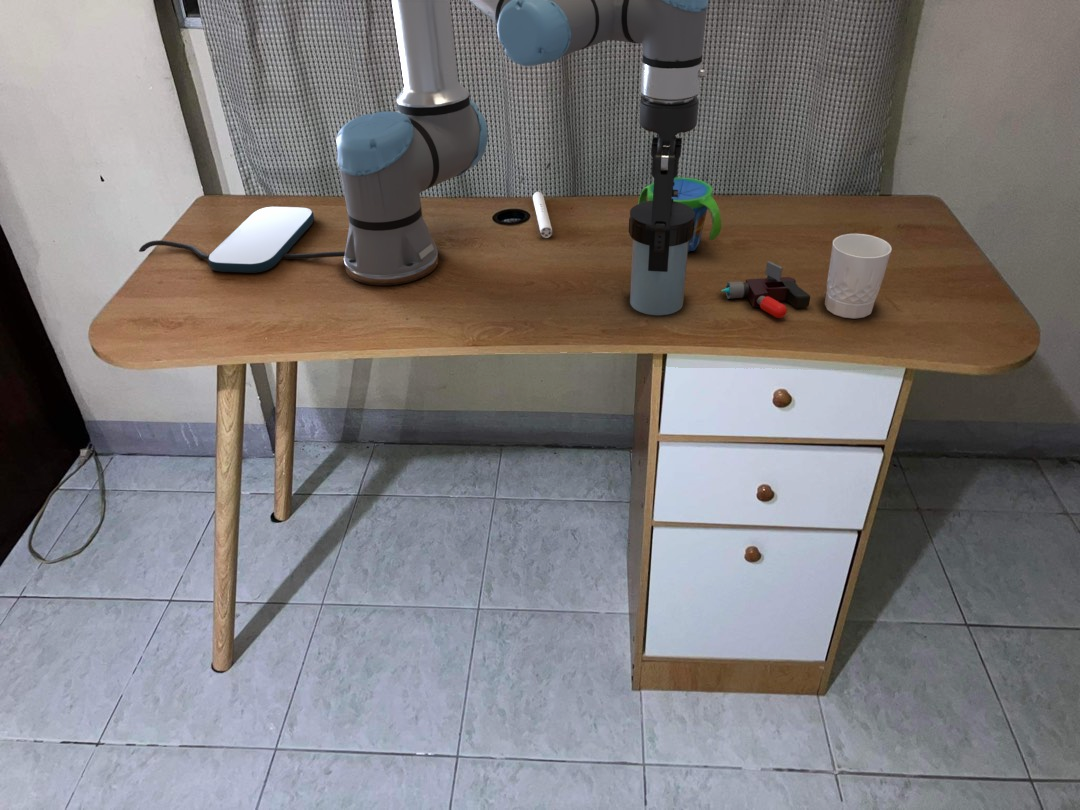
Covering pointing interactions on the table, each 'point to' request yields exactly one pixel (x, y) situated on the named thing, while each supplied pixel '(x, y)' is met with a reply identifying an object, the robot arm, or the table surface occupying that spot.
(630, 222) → the lid
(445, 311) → the table surface
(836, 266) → the white cup
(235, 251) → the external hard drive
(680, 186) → the snack cup
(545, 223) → the marker
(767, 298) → the toy gun
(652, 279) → the jar
